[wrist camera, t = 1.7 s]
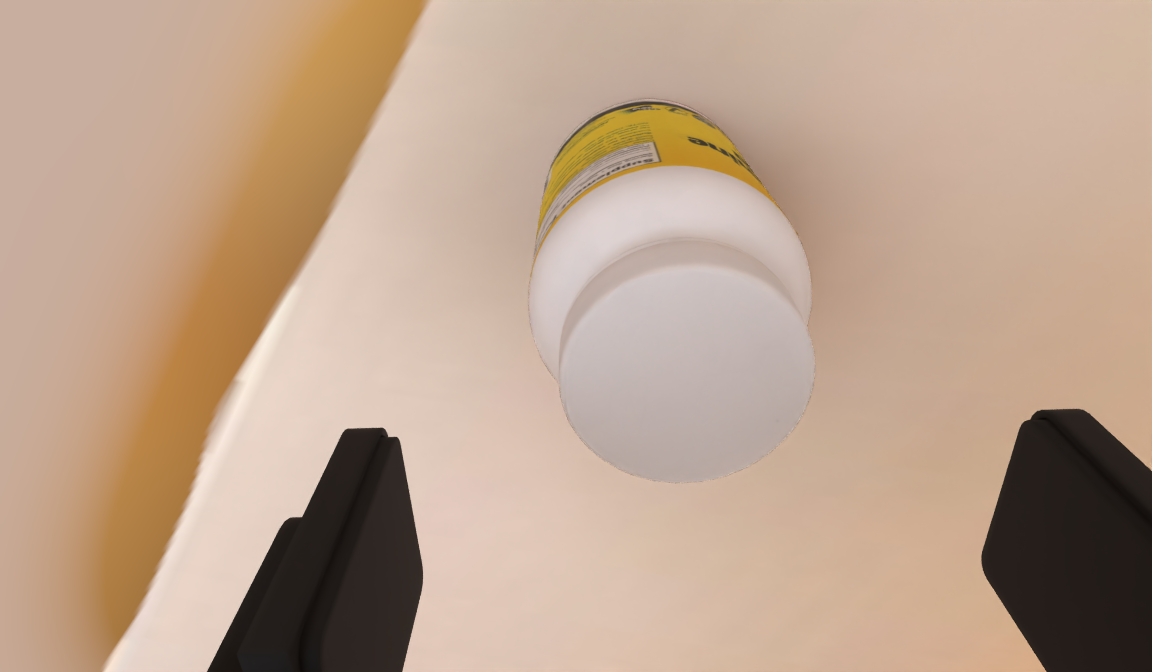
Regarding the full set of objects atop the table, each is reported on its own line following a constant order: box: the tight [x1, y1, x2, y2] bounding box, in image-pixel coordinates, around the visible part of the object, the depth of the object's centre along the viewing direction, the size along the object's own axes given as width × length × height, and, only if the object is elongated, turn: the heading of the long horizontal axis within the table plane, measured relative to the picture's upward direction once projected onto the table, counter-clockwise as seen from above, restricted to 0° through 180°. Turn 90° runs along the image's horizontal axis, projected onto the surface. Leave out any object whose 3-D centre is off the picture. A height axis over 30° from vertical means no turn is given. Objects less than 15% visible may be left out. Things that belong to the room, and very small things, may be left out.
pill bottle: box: [529, 99, 815, 483], centre depth 18 cm, size 6×6×11 cm
